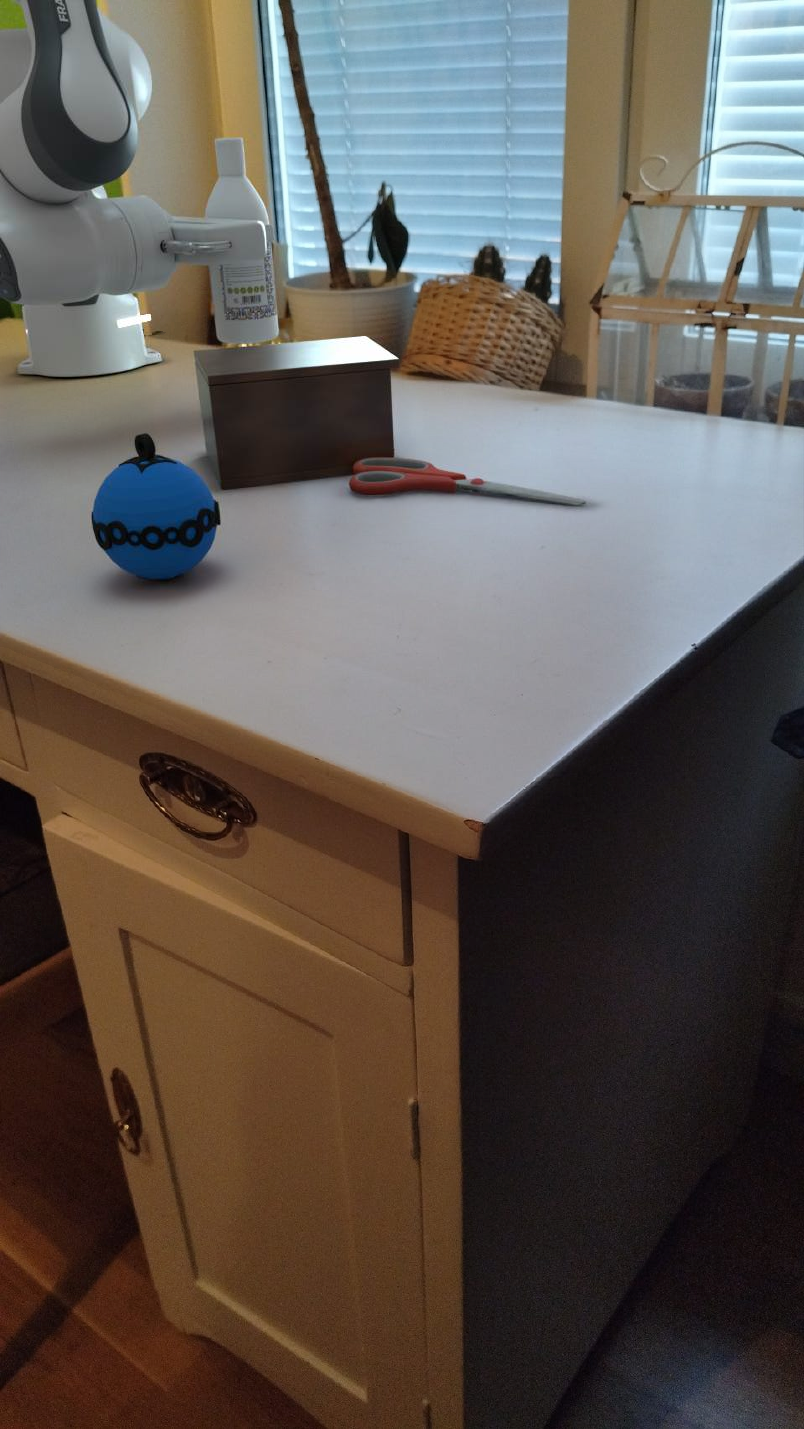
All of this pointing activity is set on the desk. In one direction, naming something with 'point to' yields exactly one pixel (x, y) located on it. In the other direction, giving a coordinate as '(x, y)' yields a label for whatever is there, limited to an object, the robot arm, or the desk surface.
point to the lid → (293, 360)
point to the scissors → (432, 481)
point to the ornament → (154, 515)
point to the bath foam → (249, 285)
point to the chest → (295, 426)
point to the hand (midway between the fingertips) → (244, 231)
